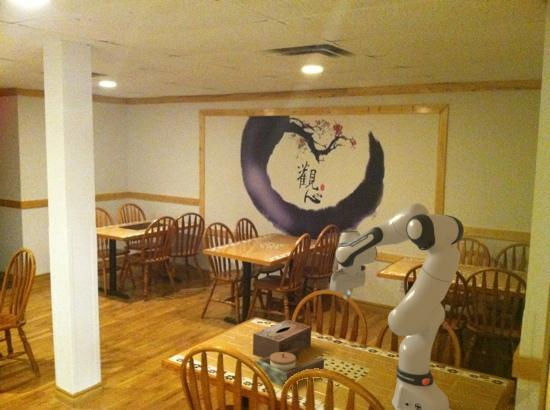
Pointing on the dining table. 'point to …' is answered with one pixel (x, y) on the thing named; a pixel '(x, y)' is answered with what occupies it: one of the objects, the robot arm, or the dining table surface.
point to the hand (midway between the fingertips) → (347, 298)
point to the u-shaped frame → (282, 377)
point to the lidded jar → (283, 361)
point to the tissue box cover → (281, 338)
